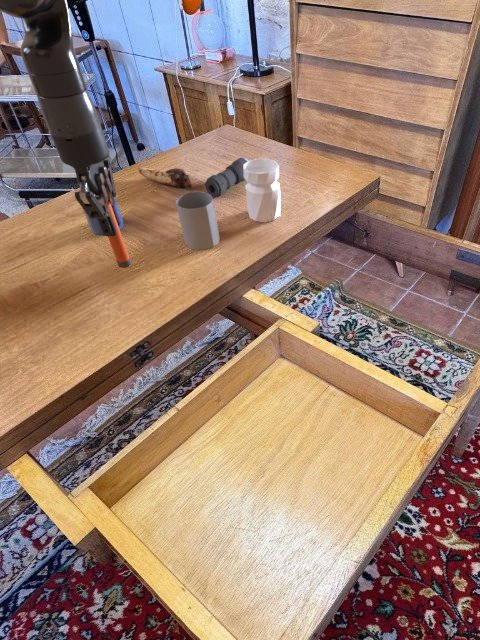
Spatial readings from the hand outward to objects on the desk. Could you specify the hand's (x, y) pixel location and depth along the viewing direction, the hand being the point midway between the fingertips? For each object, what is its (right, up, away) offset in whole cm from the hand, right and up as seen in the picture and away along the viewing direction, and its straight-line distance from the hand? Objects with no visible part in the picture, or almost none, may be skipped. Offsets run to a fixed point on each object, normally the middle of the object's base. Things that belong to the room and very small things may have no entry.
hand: (112, 230), depth 80 cm
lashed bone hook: (-4, +33, +48) cm, 58 cm away
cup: (+10, +8, +27) cm, 30 cm away
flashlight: (+14, +30, +45) cm, 56 cm away
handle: (0, -4, +5) cm, 7 cm away
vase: (+25, +18, +35) cm, 46 cm away
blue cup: (-15, +13, +32) cm, 38 cm away
